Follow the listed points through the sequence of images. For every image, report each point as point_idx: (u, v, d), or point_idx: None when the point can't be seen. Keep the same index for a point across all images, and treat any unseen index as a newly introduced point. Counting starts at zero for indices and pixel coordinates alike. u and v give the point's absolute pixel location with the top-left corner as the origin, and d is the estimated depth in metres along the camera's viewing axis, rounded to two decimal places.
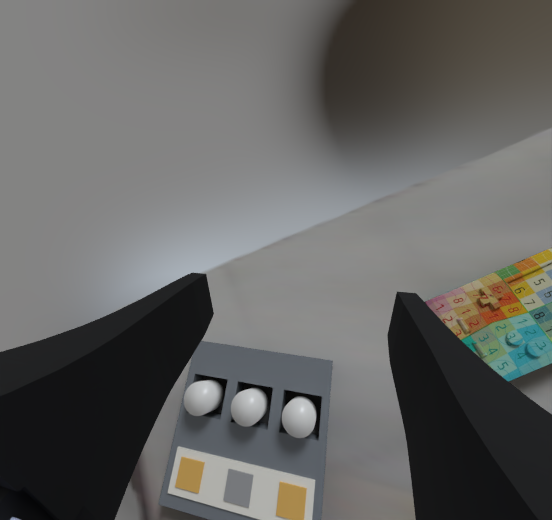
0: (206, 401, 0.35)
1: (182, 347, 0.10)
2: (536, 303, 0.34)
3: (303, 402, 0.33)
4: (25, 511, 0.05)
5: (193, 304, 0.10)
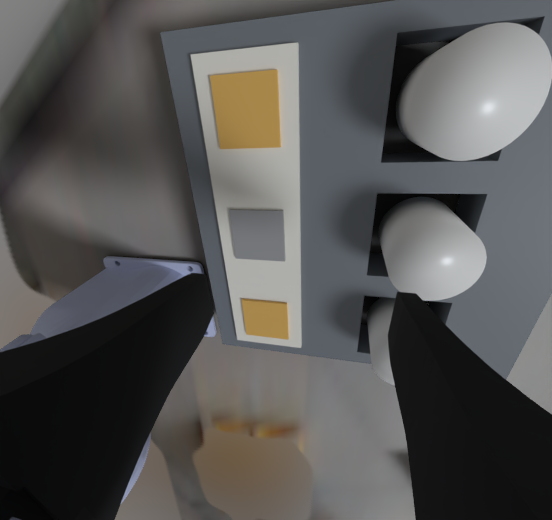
0: (462, 137, 0.10)
1: (183, 347, 0.10)
2: None
3: None
4: (25, 511, 0.05)
5: (193, 304, 0.10)
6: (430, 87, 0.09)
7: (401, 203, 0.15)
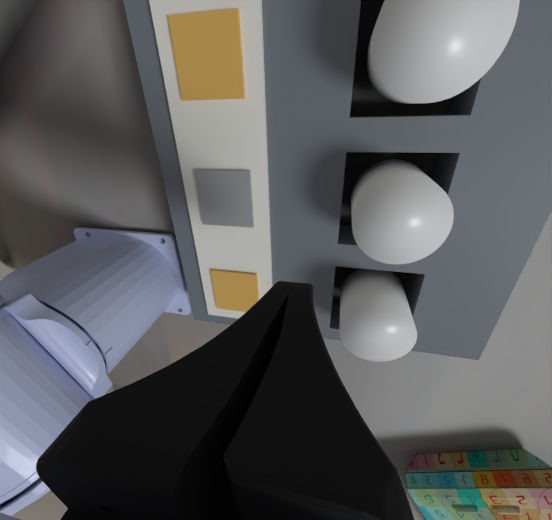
0: (426, 75, 0.09)
1: None
2: None
3: (410, 345, 0.15)
4: None
5: None
6: (391, 16, 0.09)
7: (373, 166, 0.14)
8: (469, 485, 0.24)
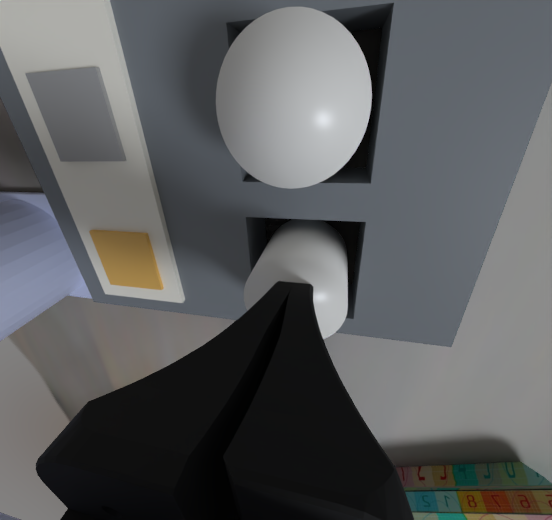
0: None
1: None
2: None
3: (340, 318, 0.10)
4: None
5: None
6: None
7: None
8: (453, 508, 0.19)
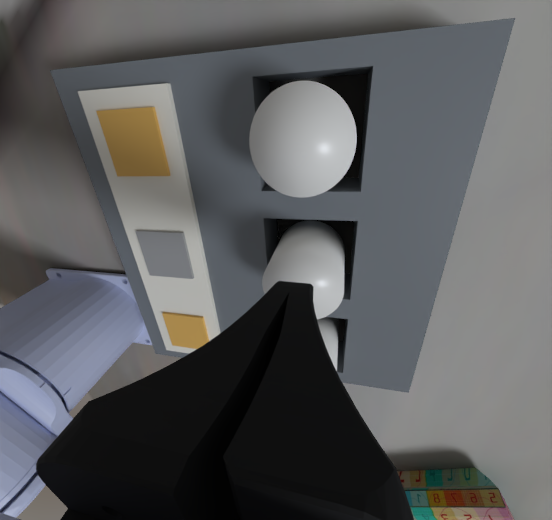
0: (297, 177, 0.11)
1: None
2: None
3: None
4: None
5: None
6: (259, 133, 0.10)
7: (292, 226, 0.16)
8: (422, 504, 0.25)
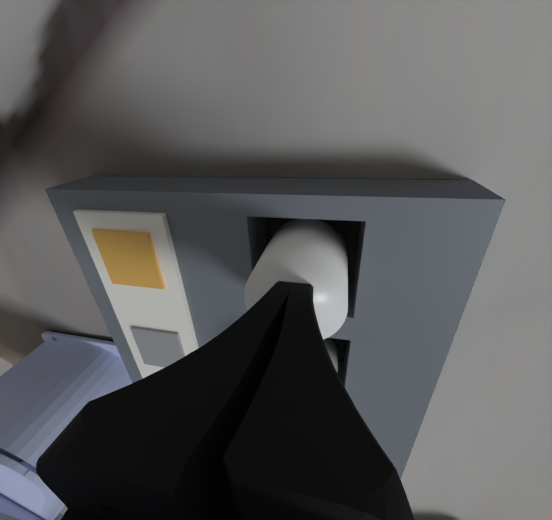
0: None
1: None
2: None
3: None
4: None
5: None
6: (254, 291, 0.11)
7: None
8: None
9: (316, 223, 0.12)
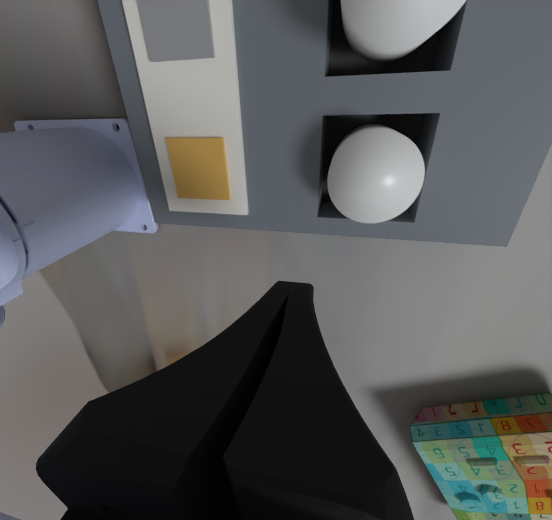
0: None
1: None
2: (538, 518, 0.23)
3: (415, 191, 0.12)
4: None
5: None
6: None
7: None
8: (487, 433, 0.20)
9: None
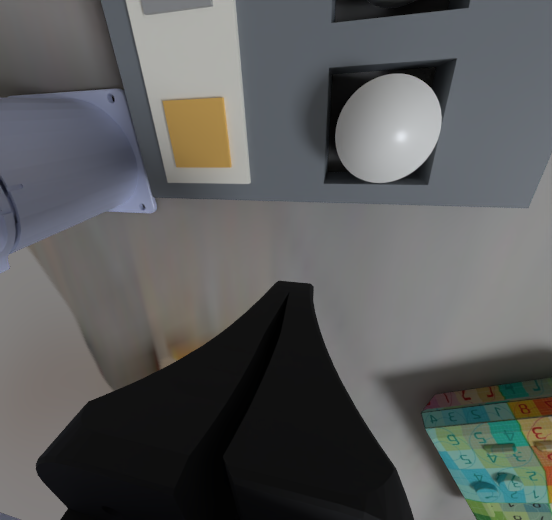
0: None
1: None
2: None
3: (431, 143, 0.11)
4: None
5: None
6: None
7: None
8: (505, 417, 0.19)
9: None
